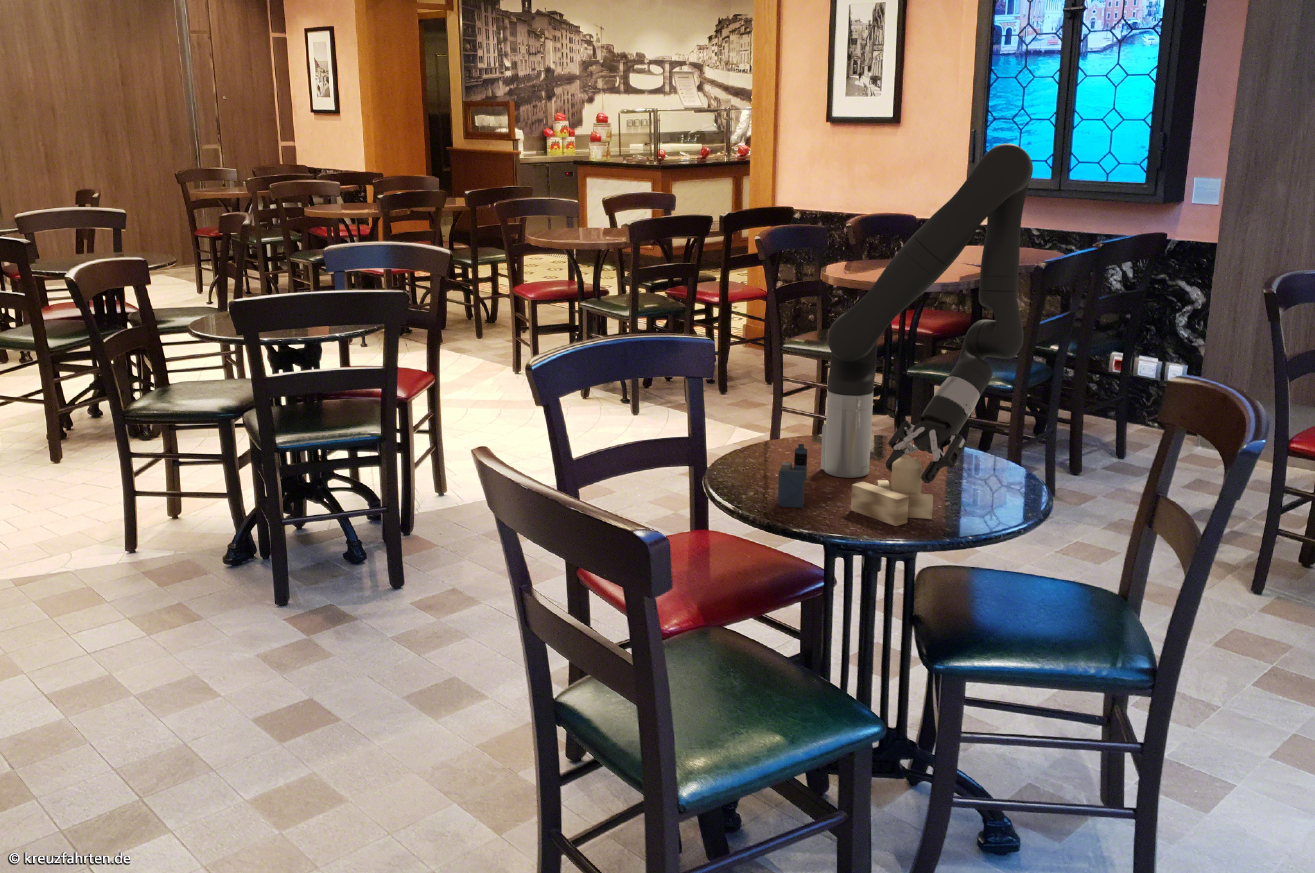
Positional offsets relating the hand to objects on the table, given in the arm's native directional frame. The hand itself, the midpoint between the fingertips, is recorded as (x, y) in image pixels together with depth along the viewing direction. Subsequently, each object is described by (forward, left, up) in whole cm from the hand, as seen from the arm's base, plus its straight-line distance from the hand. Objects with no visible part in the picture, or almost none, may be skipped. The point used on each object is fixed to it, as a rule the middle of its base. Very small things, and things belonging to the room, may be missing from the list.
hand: (906, 475), depth 202 cm
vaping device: (-14, -15, -7) cm, 22 cm away
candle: (0, +1, -7) cm, 7 cm away
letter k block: (0, -4, -7) cm, 8 cm away
